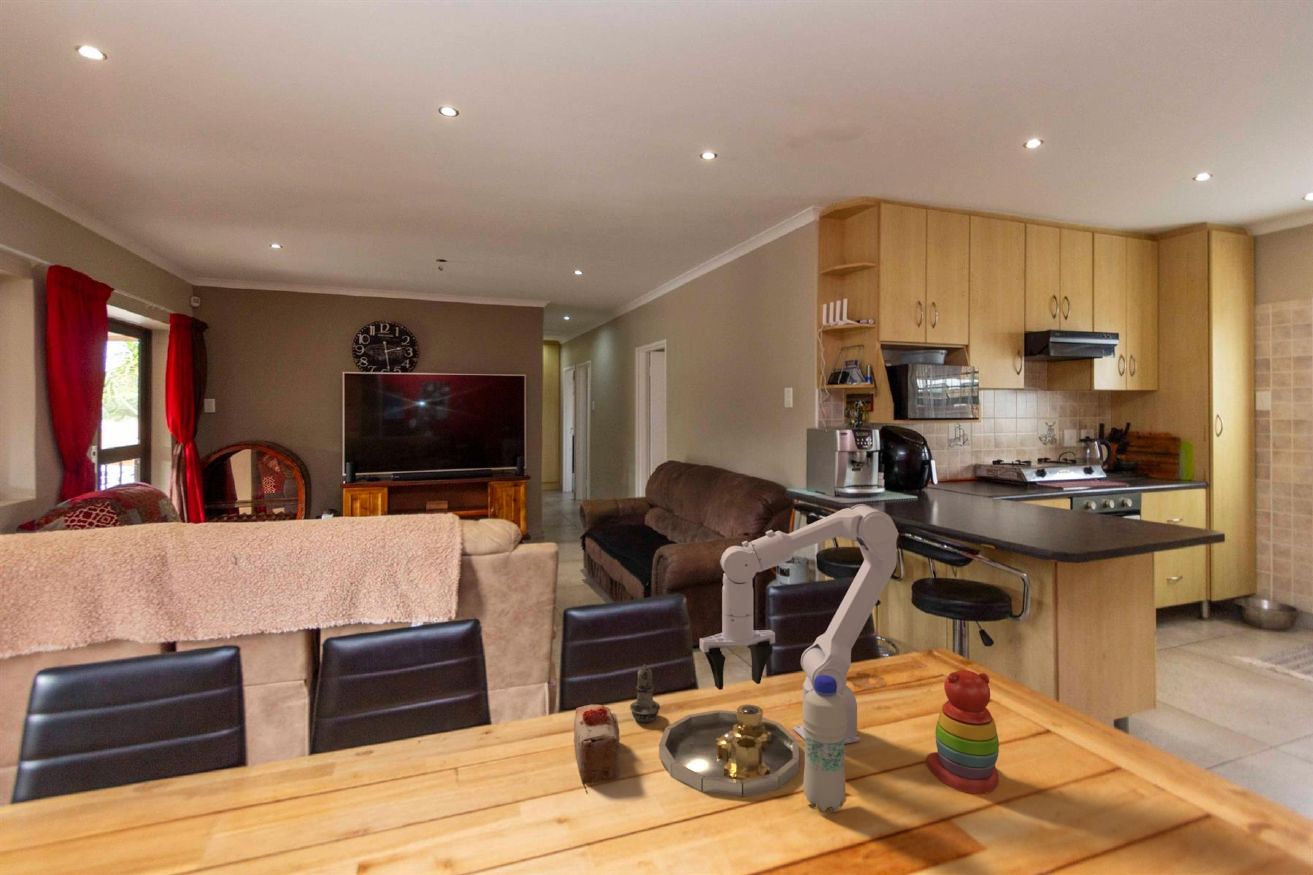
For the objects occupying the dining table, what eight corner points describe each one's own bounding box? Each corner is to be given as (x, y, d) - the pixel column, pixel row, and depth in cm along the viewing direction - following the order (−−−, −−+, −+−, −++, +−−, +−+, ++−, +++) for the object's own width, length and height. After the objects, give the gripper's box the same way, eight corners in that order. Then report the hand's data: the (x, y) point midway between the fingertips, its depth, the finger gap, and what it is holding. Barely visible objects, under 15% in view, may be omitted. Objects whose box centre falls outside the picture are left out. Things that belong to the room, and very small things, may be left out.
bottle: (847, 795, 101) (848, 670, 100) (845, 821, 94) (846, 688, 93) (804, 787, 103) (804, 665, 102) (799, 812, 96) (800, 682, 96)
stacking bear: (988, 762, 110) (990, 661, 109) (1012, 798, 100) (1014, 686, 99) (923, 758, 111) (924, 657, 111) (939, 792, 101) (941, 682, 101)
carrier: (758, 718, 126) (758, 685, 125) (828, 786, 103) (828, 745, 103) (642, 738, 118) (642, 703, 118) (689, 816, 95) (689, 772, 95)
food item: (570, 748, 115) (570, 695, 115) (614, 743, 117) (614, 690, 116) (579, 792, 102) (578, 732, 101) (628, 785, 104) (627, 726, 103)
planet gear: (774, 769, 106) (774, 737, 105) (761, 792, 99) (761, 758, 99) (733, 759, 109) (733, 728, 109) (717, 780, 103) (718, 747, 102)
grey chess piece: (661, 717, 126) (661, 658, 126) (658, 732, 120) (658, 670, 120) (632, 716, 127) (631, 657, 126) (627, 731, 121) (627, 669, 120)
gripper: (762, 602, 124) (762, 670, 124) (693, 609, 119) (693, 681, 120) (780, 613, 117) (780, 685, 118) (708, 621, 113) (708, 696, 113)
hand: (737, 684), depth 118 cm, fingers open, 7 cm apart
